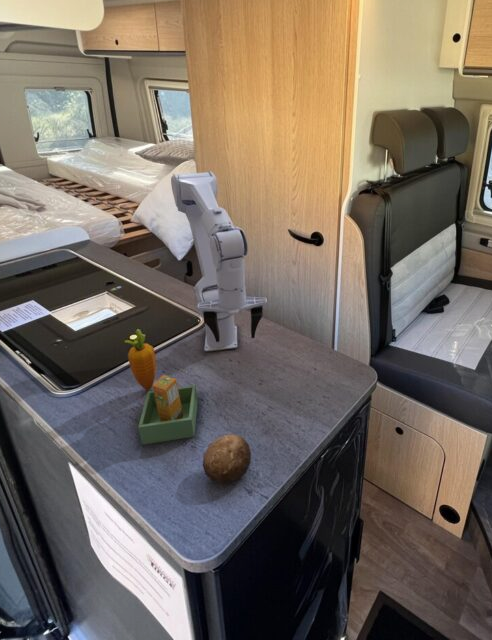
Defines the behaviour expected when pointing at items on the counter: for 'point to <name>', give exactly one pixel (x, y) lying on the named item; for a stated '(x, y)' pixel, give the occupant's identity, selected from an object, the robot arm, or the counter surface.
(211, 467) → the brown oval lump
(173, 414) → the supplement box
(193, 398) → the bin
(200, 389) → the counter surface
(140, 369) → the carrot
